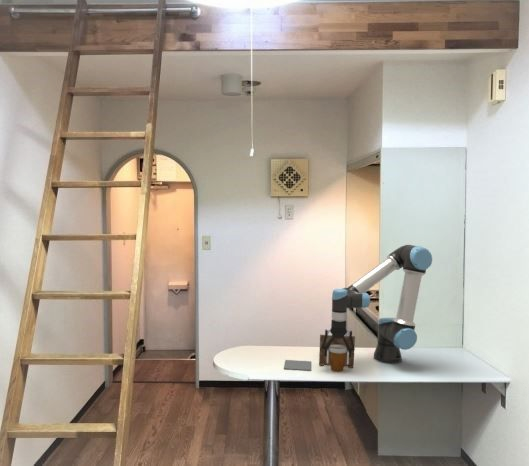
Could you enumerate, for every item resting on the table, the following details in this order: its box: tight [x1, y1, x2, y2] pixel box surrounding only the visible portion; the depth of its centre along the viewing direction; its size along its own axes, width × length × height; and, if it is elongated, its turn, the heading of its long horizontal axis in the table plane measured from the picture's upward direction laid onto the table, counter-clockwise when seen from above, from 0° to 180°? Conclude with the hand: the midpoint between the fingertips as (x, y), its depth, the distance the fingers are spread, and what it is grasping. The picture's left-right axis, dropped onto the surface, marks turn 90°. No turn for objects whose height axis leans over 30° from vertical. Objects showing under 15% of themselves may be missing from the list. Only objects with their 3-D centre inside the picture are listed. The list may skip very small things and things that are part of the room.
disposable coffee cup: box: [329, 345, 347, 373], centre depth 249 cm, size 10×10×12 cm
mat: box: [283, 359, 312, 372], centre depth 254 cm, size 14×14×1 cm
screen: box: [318, 334, 356, 369], centre depth 256 cm, size 18×5×16 cm, turn 84°
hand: (337, 363), depth 249 cm, fingers closed on disposable coffee cup, 9 cm apart
